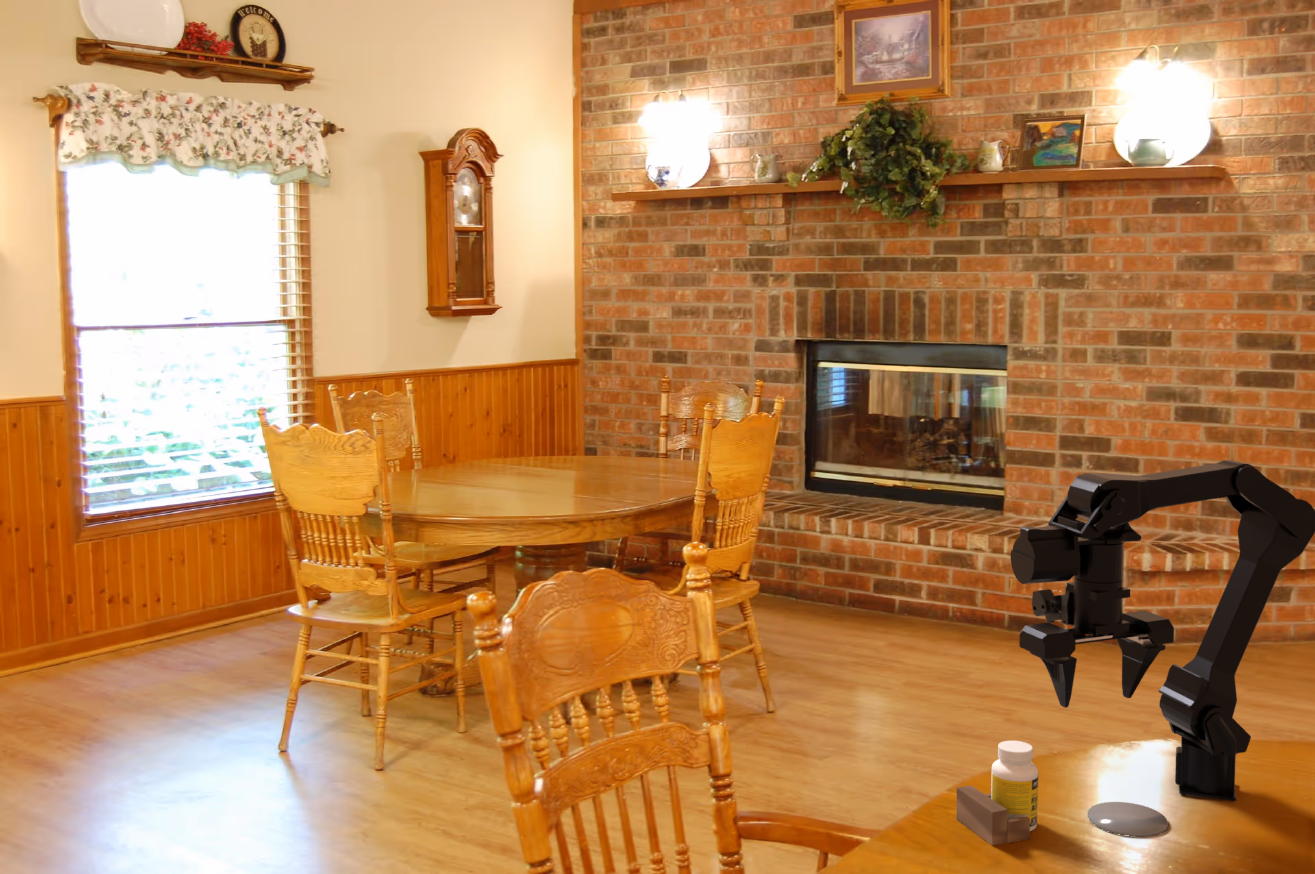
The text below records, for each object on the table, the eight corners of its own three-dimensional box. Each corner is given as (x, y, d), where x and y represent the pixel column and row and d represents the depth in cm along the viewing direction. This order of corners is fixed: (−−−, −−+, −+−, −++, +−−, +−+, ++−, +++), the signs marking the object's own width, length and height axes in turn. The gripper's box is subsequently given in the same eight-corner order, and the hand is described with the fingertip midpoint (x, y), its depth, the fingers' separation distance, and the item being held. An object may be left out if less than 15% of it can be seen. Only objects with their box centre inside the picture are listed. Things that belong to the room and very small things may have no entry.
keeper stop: (991, 812, 152) (991, 781, 151) (1029, 838, 145) (1029, 806, 144) (956, 818, 150) (956, 787, 150) (992, 845, 143) (992, 812, 143)
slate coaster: (1167, 810, 151) (1168, 807, 151) (1167, 841, 143) (1167, 838, 143) (1090, 800, 155) (1090, 797, 155) (1084, 830, 146) (1085, 827, 146)
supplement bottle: (1039, 836, 145) (1040, 756, 144) (991, 832, 146) (992, 753, 145) (1035, 816, 151) (1036, 739, 149) (989, 813, 152) (990, 736, 150)
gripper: (1118, 558, 161) (1115, 674, 163) (994, 571, 155) (993, 691, 157) (1179, 576, 151) (1175, 700, 152) (1048, 591, 145) (1046, 719, 147)
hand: (1095, 701), depth 152 cm, fingers open, 9 cm apart
